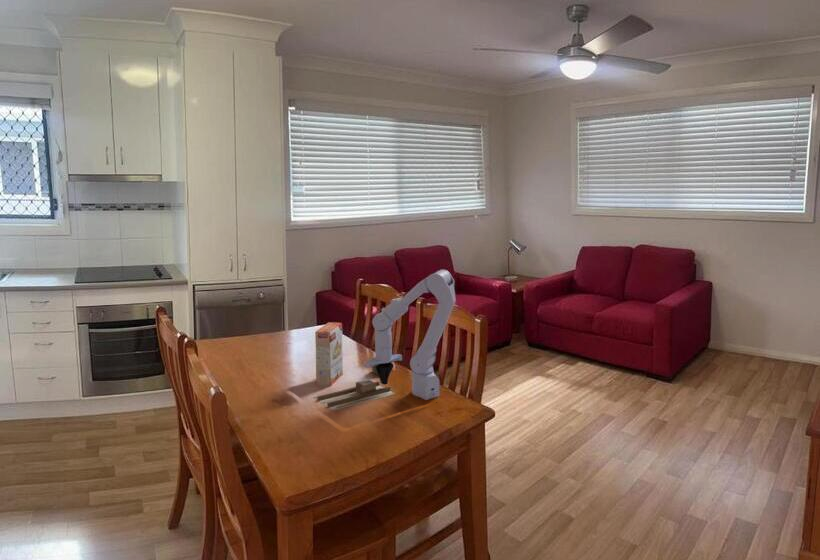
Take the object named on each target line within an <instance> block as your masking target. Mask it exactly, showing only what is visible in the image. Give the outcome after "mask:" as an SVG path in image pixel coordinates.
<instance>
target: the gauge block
mask: <svg viewBox="0 0 820 560" xmlns="http://www.w3.org/2000/svg"><path fill="white" fill-rule="evenodd" d="M374 382H375V381H372V380H370V379H369V378H367V379H363V380H360V381H355V387H356V392H357V393H359V394H363V393H367V392H371V391H375V390H376V383H374Z"/></svg>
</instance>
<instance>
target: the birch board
mask: <svg viewBox="0 0 820 560" xmlns="http://www.w3.org/2000/svg"><path fill="white" fill-rule="evenodd" d="M373 382H374V383H376V390H375V391H371V392H367V393H363V394H359V393H357V392H356V386H352V387H348V388H345V389H341V390H336V391H333V392H329V393H324V394H320V395H317V396H314V397H313V399H315V400H317V401H319V402H320V403H321V404H323V405H324V406H325V407H327V408H329V409H330V410H332V411H338V410H342V409H345V408H349V407H353V406H356V405H360V404H363V403H366V402H370V401H374V400H377V399H378V400H379V399H382V398H385V397H389V396H394V395H396V393H395V392H394V391H391V387H390V386H387V387H383V386H382V385H380V381H373Z"/></svg>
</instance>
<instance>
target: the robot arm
mask: <svg viewBox="0 0 820 560" xmlns="http://www.w3.org/2000/svg"><path fill="white" fill-rule="evenodd" d="M424 293H425V294H428V293H431V294H432V295H434V297H435V298H436V300H437V301H438V304H437V307H436V310H435V312H434V315H433V317H432V319H431V322H430V324H429V327H428V328H427V331H426V333H425V336H424V339H423V340H422V343H421V345H420V346H419V348H418V349H417V351H416V352H415V353H416V354H415V355H414V356H413V357H411V359H410V361H409V366H410V370H411V371H412V372H411V373H412V374H411V375H412V377H411V381H412V382H411V383H412V384H411V386H412V388H411V389H412V392H411V393H412V395H413V396H415V397H419V398H421V399H423V400H425V401H427V400H430V399H434V398H438V397H440V383H441V382H440V378H439V376H437V375H436V374H435V371H434V366H433V364H434V363H435V362H436V352H437V350H438V349H437V348H438V345H439V342H440V340H441V337H442V334H443V333H444V330H445V328H446V326H447V323H448V320H449V319H450V317H451V314H452V312H453V309H454V307H455V304H456V301H457V298H456V290H455V279H454V278H453V276H452V274H451V272H449V271H448V270H446V269H440V270H437V271H436V272H434V273H431V274H429V275H428V276H427V277H426V278H424V279H422V280H421V281H419V282H418V283H416V285H415V286H414V287H412V288H411V289H410V290H409V291H408V292H407V293H406V294H405V295H404V296H403V297H401V298H400V297H396V298H393V299H391V300H390V301H389V302H390V303H389V304H388V305H387V306H386V307H382V308H381V309H380V311H381V312H380V313H377V314H375V315H374V316H373V318H372V321H371V323H372V327H373V328H374V337H375V338H374V345H375V346H374V348H375V349H374V353H375V357H373V358H371V359H369V360H365V361H364V368H366V369H371V368H372V366H374V367H375V368H376V370H377V372H378V375H377V376H378V377H379V383H380V384H382V385H387V384H388V381H389V377H390V374H391V372H392V371H393V368H394V364H393V362H398V361H400V362H401V361H403V355H402V354H399V353H396V354H393V345H392V343H393V340H392V337H393V335H392V326H393V325H394V324H395V322H396V321H397V320H399V319H400V318H401V317H402V316H403V315H405V313H407V312H408V310H409V305H410V304H412V303H413V302H415V300H416V299H418V298H419V297H421V296H422V295H423V294H424Z"/></svg>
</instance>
